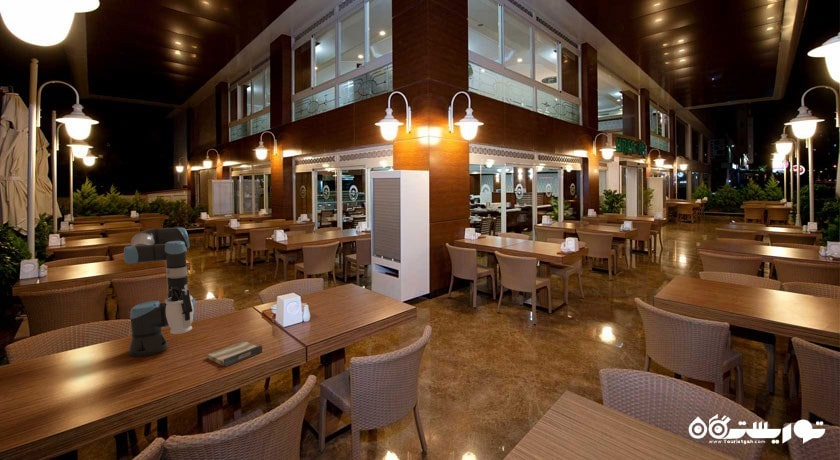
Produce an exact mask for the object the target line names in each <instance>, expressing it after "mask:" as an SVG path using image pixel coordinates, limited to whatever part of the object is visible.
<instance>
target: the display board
mask: <svg viewBox="0 0 840 460" xmlns="http://www.w3.org/2000/svg"><path fill="white" fill-rule="evenodd" d="M262 352H263V345H261V344H259V345H255V344H252V343H250V342H247V341H245V340H242V341H240V342H237V343H234V344H231V345H229V346H226V347H223V348H221V349H218V350H215V351H213V352H209V353H207V354H206V358H207V359H208V360H210V361H213V362H214V363H216V364H219V365H221V366H223V367H225V368H226V367H229V366H231V365H233V364H236V363H238V362H241V361H243V360H246V359H248V358H252V357H253V356H256V355H258V354H261V353H262Z"/></svg>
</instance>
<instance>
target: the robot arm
mask: <svg viewBox="0 0 840 460" xmlns="http://www.w3.org/2000/svg"><path fill="white" fill-rule="evenodd" d="M130 244H131V245H129V246H125V247H124V248H123V258H124V262H125V263H126V264H138V263H149V262H160V261H164V262H165V273H166V284H167V285H166V286H167V296H166V297H165V299H164V301H165V300H166V299H168V298H170V297H171V301H172V302H174V301H178V300H179V301H182V300H183V303H182V304H181V306H182V310H183V313H182V317H183V328H187V327H190V326H192V324H190V312H192V311H193V310H192V305H191V301H192V303H193V308H194V313H193V321H194V320H195V314H196V313H195V312H196V298H194V297H193V295H192V294H190V289H188V282H189V278H188V265H187V251H188V249H189V248H190V238H189V235H188V232H187V229H186V228H184V227H176V226H174V227H163V228H161V227H160V228H148V229H144V230H142V231H139V232H138V233H136V234H135V235H133V236H132V239H131V240H130ZM189 295H190V296H192V297H193V299H192V300H191V301H190V296H189ZM166 305H167V304H166V303H165V302H160V301H159V300H148V301H144V302H141V303H138V304H136V305H134V306H133V307H131V309H130V311H129V319H130V327H131V328H130V329H131V341H130V343H129V347H128V350H127V351H128V356H130V357H134V358H136V357H137V358H139V357H146V356H147V357H148V356H152V355H155V354H159V353H161V352H163V351H165V350H166V349H167V347H168V342H167V340H166V338H165V336H164V334H163V332H162V328H164V327H165V328H166V327H169V325H168V321H167V318H166Z"/></svg>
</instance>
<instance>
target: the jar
mask: <svg viewBox="0 0 840 460" xmlns="http://www.w3.org/2000/svg"><path fill="white" fill-rule="evenodd" d="M190 295H191V294H190ZM190 295H189V296H190ZM193 298H194V296H193V295H192V296H190V301H191V300H192V299H193ZM164 303H166V304H167V305H166V318H167V321H168V325H169V326H168V327H169V328H170V330H169V333H170V334H173V335H181V334H184V333H185V334H186V333H187V332H191V330H193V326H192V324H193V321H194V320H193V313H194V308H193V303H192V301H191V305H192V310H193V311H192V312H190V324H191V326H190V327H187V328H183V317H182V313H183V310H182V306H181V304H182V303H183V300H182V301H179V300H178V301H174V302H172V301H171V297H170V298H168V299H166V300H165V299H164Z"/></svg>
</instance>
